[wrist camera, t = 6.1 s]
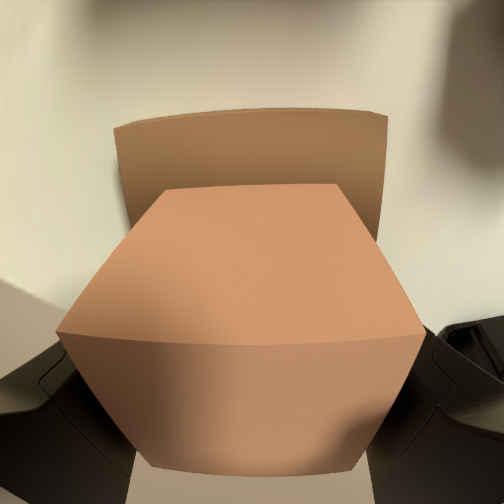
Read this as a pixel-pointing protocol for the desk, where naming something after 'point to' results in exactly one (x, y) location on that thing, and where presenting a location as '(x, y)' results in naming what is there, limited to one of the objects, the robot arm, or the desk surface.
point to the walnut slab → (256, 154)
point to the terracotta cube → (246, 332)
